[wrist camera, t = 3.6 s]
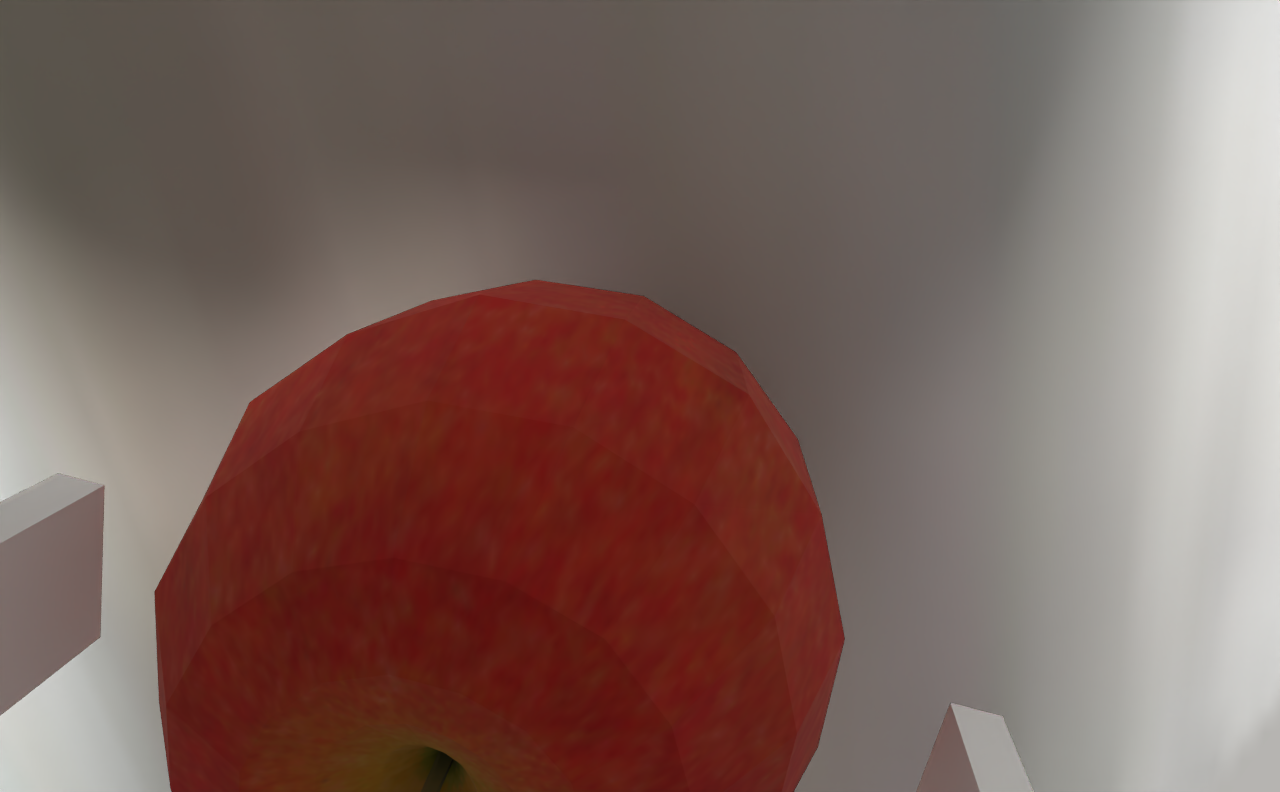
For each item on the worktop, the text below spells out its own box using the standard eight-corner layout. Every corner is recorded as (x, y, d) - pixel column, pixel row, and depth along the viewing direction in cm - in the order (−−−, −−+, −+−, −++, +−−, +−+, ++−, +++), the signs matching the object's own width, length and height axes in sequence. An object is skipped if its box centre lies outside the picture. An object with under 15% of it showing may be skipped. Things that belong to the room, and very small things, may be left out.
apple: (662, 693, 24) (540, 1434, 10) (329, 492, 23) (-242, 1012, 10) (905, 378, 20) (1173, 889, 7) (522, 132, 20) (45, 197, 7)
